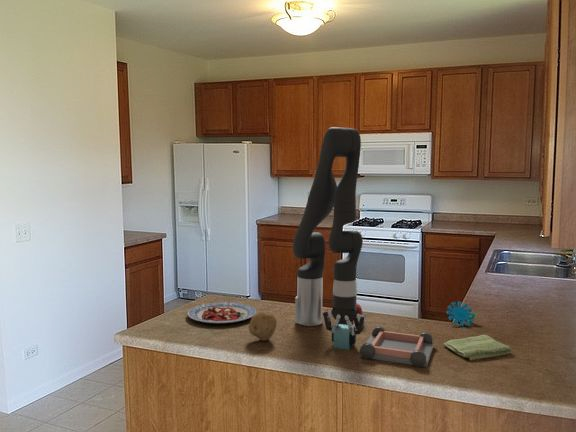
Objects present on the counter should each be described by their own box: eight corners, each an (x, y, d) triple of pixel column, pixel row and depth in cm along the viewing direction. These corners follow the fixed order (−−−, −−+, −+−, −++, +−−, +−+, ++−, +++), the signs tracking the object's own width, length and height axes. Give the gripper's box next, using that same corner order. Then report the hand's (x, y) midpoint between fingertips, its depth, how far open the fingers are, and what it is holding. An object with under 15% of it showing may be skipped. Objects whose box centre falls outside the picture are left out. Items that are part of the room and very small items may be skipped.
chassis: (358, 358, 157) (358, 344, 156) (372, 338, 174) (372, 325, 174) (426, 368, 150) (426, 353, 149) (433, 346, 167) (434, 333, 167)
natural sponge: (251, 346, 166) (251, 316, 165) (246, 337, 174) (246, 308, 173) (279, 344, 168) (279, 314, 167) (272, 335, 177) (272, 306, 176)
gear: (448, 322, 186) (447, 298, 193) (443, 330, 191) (442, 306, 197) (479, 327, 186) (476, 303, 192) (473, 334, 191) (471, 310, 197)
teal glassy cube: (333, 347, 165) (333, 329, 165) (338, 341, 171) (339, 324, 170) (348, 349, 164) (349, 331, 163) (353, 343, 169) (353, 325, 168)
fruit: (350, 329, 184) (351, 301, 182) (332, 322, 191) (332, 296, 190) (368, 324, 189) (368, 297, 188) (349, 317, 197) (349, 292, 195)
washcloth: (440, 347, 167) (441, 337, 167) (486, 342, 173) (486, 332, 172) (466, 362, 155) (466, 352, 155) (514, 356, 160) (515, 346, 160)
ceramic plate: (175, 324, 188) (175, 316, 187) (204, 305, 213) (204, 298, 212) (243, 330, 182) (243, 322, 181) (264, 310, 207) (264, 302, 206)
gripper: (319, 293, 165) (318, 345, 166) (364, 298, 159) (362, 351, 161) (326, 288, 171) (326, 337, 173) (369, 292, 166) (368, 343, 168)
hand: (343, 344), depth 167 cm, fingers closed on teal glassy cube, 5 cm apart
